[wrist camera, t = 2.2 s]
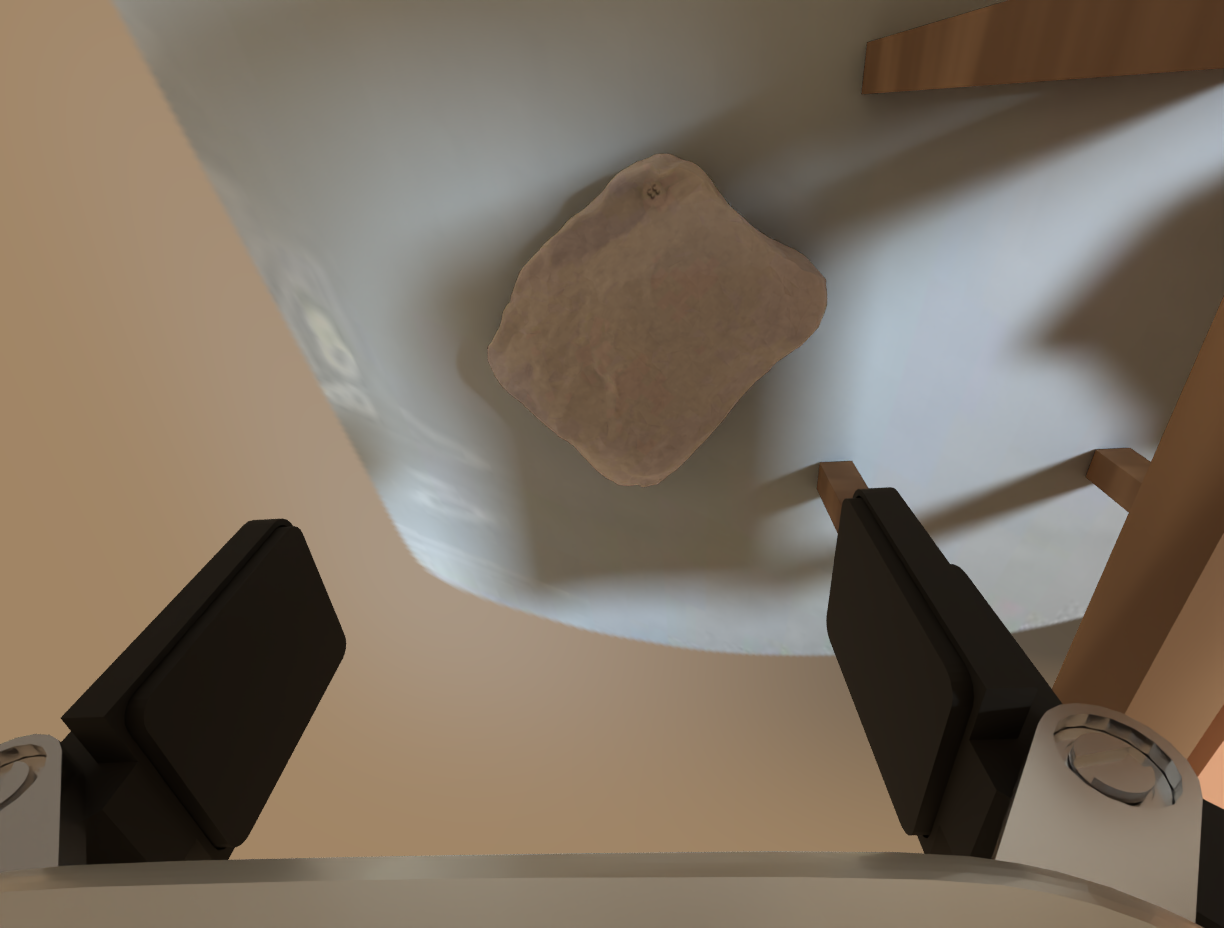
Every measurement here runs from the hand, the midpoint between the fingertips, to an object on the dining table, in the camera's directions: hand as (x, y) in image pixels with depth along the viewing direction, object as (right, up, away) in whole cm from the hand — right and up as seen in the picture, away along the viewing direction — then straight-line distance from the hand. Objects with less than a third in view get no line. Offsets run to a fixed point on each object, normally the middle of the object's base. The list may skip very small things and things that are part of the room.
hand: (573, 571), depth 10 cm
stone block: (+2, +8, +15) cm, 18 cm away
